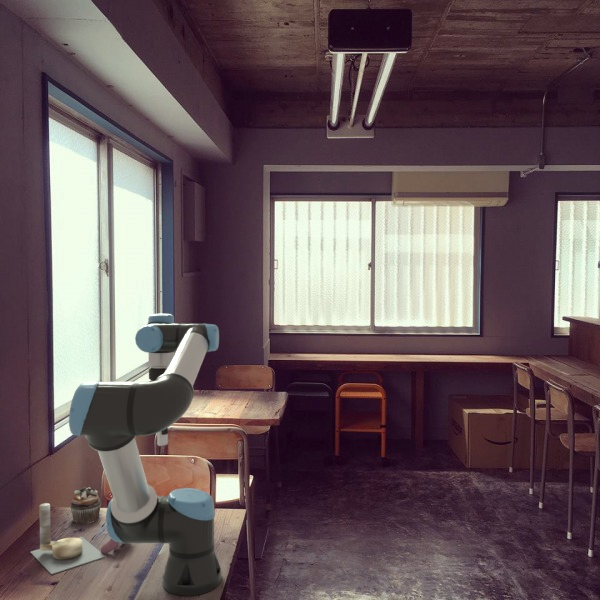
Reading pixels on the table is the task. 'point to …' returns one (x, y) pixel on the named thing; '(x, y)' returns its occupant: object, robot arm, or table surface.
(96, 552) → the base
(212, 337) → the robot arm
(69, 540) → the cream oval with post
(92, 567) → the table surface
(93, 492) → the cupcake
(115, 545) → the video game controller
